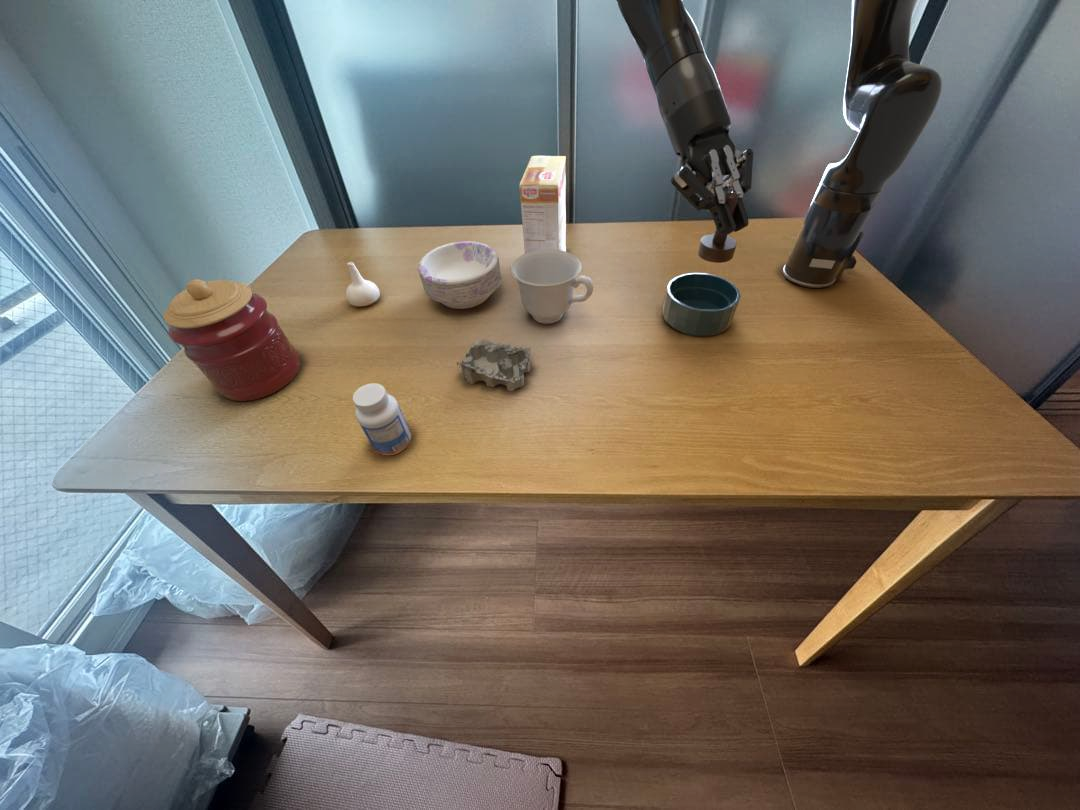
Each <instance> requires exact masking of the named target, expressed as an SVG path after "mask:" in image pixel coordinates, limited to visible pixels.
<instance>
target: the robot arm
mask: <svg viewBox="0 0 1080 810" xmlns="http://www.w3.org/2000/svg"><path fill="white" fill-rule="evenodd" d="M615 1H616V5H617V7H618V9H619V11H620V14H621V16H622V18H623V20H624V22H625V24H626V26H627V28H628V30H629V32H630V34H631V36H632V38H633V40H634V41H635V43H636V45H637V47H638V49H639V52H640V53H641V56H642V58H643V61H644V65H645V68H646V72H647V74H648V78H649V80H650V83H651V86H652V88H653V91H654V93H655V98H656V102H657V108H658V110H659V114H660V117H661V119H662V121H663V124H664V127H665V130H666V132H667V135H668V138H669V141H670V144H671V146H672V149H673V153H674V154H675V157H677V158H680V160H681V161H680V163H681V168H680V169H679V171H678V172H677V173H676V174H674V175H673V176H672V177H671V178H670V183H671V184H672V186H673V187H674V188H675V189H676V190H677V191H678V192H679V193H680V194H681V195H682V196H683V197H684V199H686V200H687V202H689V203H690V205H691V206H692V207H693V208H694V209H695V210H696V211H697V212H701V211H702V210H706V211H707V212H708V213H710V214H711V217H712V219H713V223H714V225H715V229H716V228H717V231H718V232H719V233H720V235H721V236H726V235H727V236H729V235H730V234H732V233H733V232H735V233H736V232H739V231H742V230H743V229H745V228H747V227H748V226H749V222H750V221H749V216H748V213H747V210H746V207H745V204H744V202H743V197H744V195H745V194H746V193H747V192H749V191H750V190H751V189H752V181H753V180H752V179H753V162H754V151H753V149H751V148H747V149H746V150H744V151H742V150H739V149H737V148H736V144H735V142H734V141H733V140H732V138H731V137H730V135H729V134H730V133H729V132H730V130H731V129H730V128H731V126H732V118H731V115H730V113H729V110H728V106H727V104H726V101H725V98H724V95H723V92H722V89H721V86H720V84H719V80H718V78H717V75H716V73H715V70H714V68H713V66H712V64H711V62H710V61H709V59H708V57H707V53H706V51H705V49H704V46H703V45H704V44H703V42H702V40H701V37H700V34H699V33H700V32H699V31H698V28H697V26H696V24H695V22H694V20H693V18H692V17H691V15H690V14H689V12H688V11H687V9H686V7H685V5H684V3H683V0H615ZM916 1H917V0H851V28H850V29H851V31H850V33H851V34H850V45H849V46H850V47H849V55H848V63H847V70H846V77H845V86H844V92H843V100H842V101H843V102H842V113H843V115H842V116H843V118H844V121H845V124H846V125H847V127H848V128H850V129H851V130H852V131H853V132H856V133H857V135H856V138H855V140H854V142H853V144H852V145H851V147H850V149H849V151H848V154H846V156H844V157H839V158H836V159H833V160H831V162H830V163H828V164H827V166H826V168H825V170H824V172H823V175H822V178H821V180H820V182H819V185H818V187H817V189H816V191H815V194H814V195H813V199H812V201H811V203H810V206H809V207H808V210H807V213H806V215H805V218H804V219H803V222H802V224H801V227H800V230H799V231H798V234H797V237H796V239H795V241H794V244H793V247H792V248H791V250H790V253H789V255H788V257H787V260H786V263H785V264H784V266H783V268H782V275H783V277H784V278H785V279H787V281H789V282H791V283H793V284H795V285H798V286H801V287H806V288H810V289H823V288H828V287H830V286H832V285H833V284H835V282H837V281H840V279H841V277H842V275H843V273H844V271H845V270H849V269H850V270H852V269H853V270H854V268H855V267H856V265H857V259H856V256H854V253H855V251H856V249H857V247H858V246H859V244H860V242H861V240H862V238H863V236H864V231H863V227H864V225H865V224H866V222H867V220H868V218H869V216H870V214H871V212H872V210H873V209H874V206H875V204H876V202H877V201H878V199H879V197H880V195H881V194H882V192H883V190H884V189H885V186H886V184H887V183H888V181H889V180H890V179H891V178H892V177H893V176H894V175H895V174H896V173H897V172H898V171H899V170H900V168H901V167H902V166H903V164H904V163H905V161H906V160H907V158H908V156H909V155H910V153H911V151H912V150H913V148H914V147H915V145H916V143H917V141H918V140H919V138H920V137H921V134H922V133H923V132H924V130H925V129H926V126H927V125H928V123H929V121H930V119H931V118H932V115H933V114H934V112H935V110H936V107H937V106H938V103H939V100H940V97H941V94H942V90H943V79H942V76H941V75H940V74H939V72H938V71H936V70H935V69H934V68H933V67H928V66H925V65H923V64H919V63H916V62H912V61H911V59H910V35H911V23H912V17H913V12H914V7H915V4H916ZM729 187H730V190H729ZM726 193H736V194H738V195H739V198H738V201H737V205H736V208H735V211H734V215H733V216H732V214H731V211H730V208H729V205H728V203H727V204H724V203H725V202H726V198H725V194H726ZM697 194H698V195H697Z"/></svg>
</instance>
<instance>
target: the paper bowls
mask: <svg viewBox="0 0 1080 810" xmlns="http://www.w3.org/2000/svg"><path fill="white" fill-rule="evenodd" d="M417 272H418V275H419V278H420V282H421V284H422V287H423V290H424V293H425V295H426V296H427V297H428V298H429V299H431V300H433V301H435V302H438V303H441V304H442V305H444V306H445V307H448V308H451V309H455V310H456V309H459V310H463V309H464V310H465V309H470V308H475V307H477V306H480V305H481V304H483V303H484V302H486V301H487V300H488V299H489V297H490V296H491V295H492V294H493V293H494V292H495V291H496V290H497V289H498V288H499V287H500V285H501V283H502V282H501V281H502V273H501V272H502V271H501V264H500V257H499V255H498V252H497V251H496V250H495V248H494V247H492V246H490V245H488V244H486V243H482V242H479V241H466V240H465V241H463V240H462V241H456V242H455V241H454V242H450V243H446V244H443V245H440V246H437V247H435V248H433V249H431V250H430V251H428V252H427V253H425V254H424V255H423V257H421V259H420V260H419V263H418V265H417Z"/></svg>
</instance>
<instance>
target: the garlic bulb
mask: <svg viewBox="0 0 1080 810" xmlns="http://www.w3.org/2000/svg"><path fill="white" fill-rule="evenodd" d="M346 265H347V266H348V269H349V274H350V278H351V282H350V284H349V285H348V286H347V288H346V289H345V297H346V301H347V302H348V303H349V304H350V305H352V306H353V307H366V306H370V305H372V304H374V303H375V302H377V301H378V300H379V298H380V295H381V292H380V289H379V287H378V286H377V285H376V283H375V282H373V281H371V280H369V279H364V277H363V276H362V275H361V273H360V271H359V270H358V268H357V267H356V265H355V263H354V261H349V262H347V263H346Z"/></svg>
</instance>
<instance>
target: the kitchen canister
mask: <svg viewBox="0 0 1080 810" xmlns="http://www.w3.org/2000/svg"><path fill="white" fill-rule="evenodd" d="M267 309H268V304H267V300H266V299H265V298H264V297H263V296H261V295H260V294H257V293H256V292H255V293H254V292H253V290H252V288H251V287H250V286H249V285H248V284H246V283H244V282H239V281H231V280H227V279H215V280H208V281H204V280H203V279H191V280H189V281H188V282H187V283H186V288H185V289H183V290H182V291H180V292H179V293H178V294H176V295H175V296H174V297H173V298H172V300H170V303H169V305H168V306H167V307H166V309H165V310H164V313H163V320H164V322H165V323H166V324H167V325H168V326H169V327H168V336H169V339H170V340H172V341H173V342H174V343H175V344H178V345H181V346H182V347H183V348H184V349H183V351H184V354H185V356H186V357H187V359H188V360H190V361H192V362H193V363H194V364H195V366H196V367H197V368H198V369H199V370H200V371H201V373H202V374H203V375H204V376H205V378H206V379H207V380H208V381H209V382H210V385H211V386H212V387H213V389H214V390H216V392H217V393H219V394H220V395H222V396H223V397H224V398H226V399H228V400H231V401H235V402H247V401H254V400H255V401H256V400H258V399H262V398H265V397H267V396H270V395H272V394H274V393H276V392H278V391H279V390H282V389H283V388H285V387H286V386H287V385H288V384H289V383H290V382H291V381H292V380H293V379H294V378H295V377H296V375H298V372H299V370H300V366H301V361H300V358H299V353H298V351H297V349H296V348H295V346H294V345H293V344H292V343H291V342H290V341H289V339H288V337H287V336H286V334H285V332H284V331H283V329H282V327H281V326H280V325H279V323H278V319H277V317H276V316H275V315H274V314H272V313H271V312H270V311H268V310H267Z"/></svg>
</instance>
